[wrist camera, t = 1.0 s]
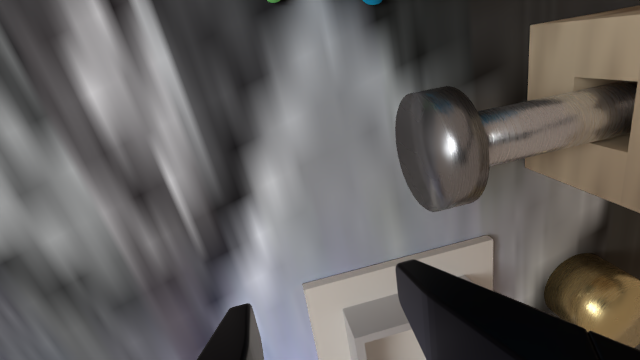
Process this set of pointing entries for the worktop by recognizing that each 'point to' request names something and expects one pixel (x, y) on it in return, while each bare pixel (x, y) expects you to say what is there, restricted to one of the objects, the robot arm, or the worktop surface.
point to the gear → (368, 0)
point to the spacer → (596, 297)
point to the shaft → (496, 135)
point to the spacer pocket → (383, 304)
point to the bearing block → (585, 72)
